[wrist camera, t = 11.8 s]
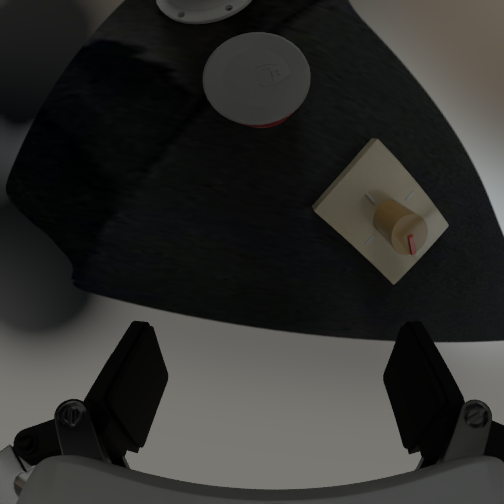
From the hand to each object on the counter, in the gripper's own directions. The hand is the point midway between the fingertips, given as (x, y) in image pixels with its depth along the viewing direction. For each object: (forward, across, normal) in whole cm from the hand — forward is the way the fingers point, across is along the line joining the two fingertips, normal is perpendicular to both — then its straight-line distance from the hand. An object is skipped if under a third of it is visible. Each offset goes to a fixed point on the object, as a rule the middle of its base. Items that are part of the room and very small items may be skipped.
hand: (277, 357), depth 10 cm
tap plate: (+24, -14, +1) cm, 28 cm away
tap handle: (+22, -13, +1) cm, 26 cm away
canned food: (+24, +1, -12) cm, 27 cm away
